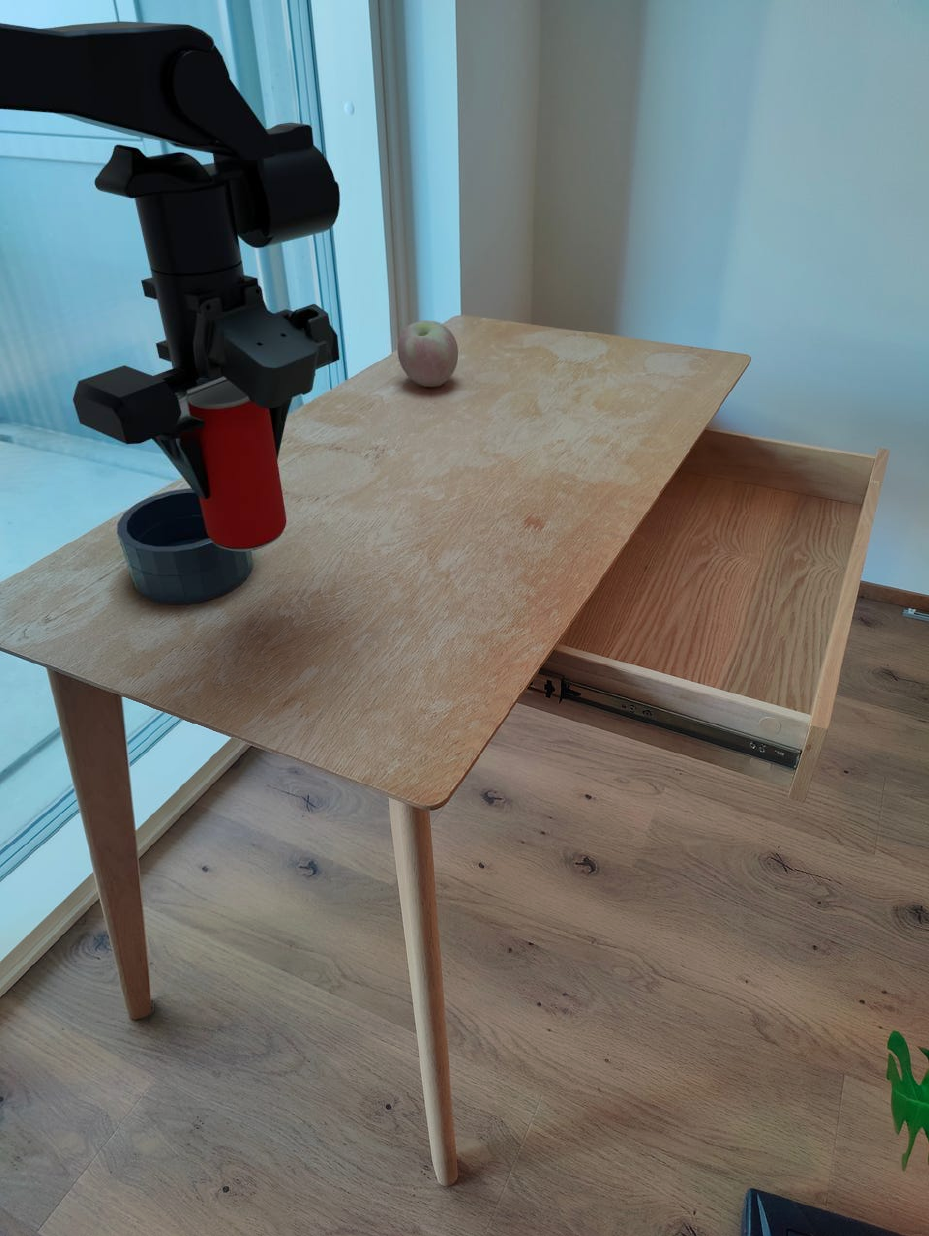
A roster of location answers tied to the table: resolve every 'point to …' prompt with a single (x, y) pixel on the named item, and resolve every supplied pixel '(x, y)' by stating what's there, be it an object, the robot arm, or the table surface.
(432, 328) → the apple
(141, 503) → the pot
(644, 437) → the table surface
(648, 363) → the table surface
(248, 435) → the beverage can
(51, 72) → the robot arm
